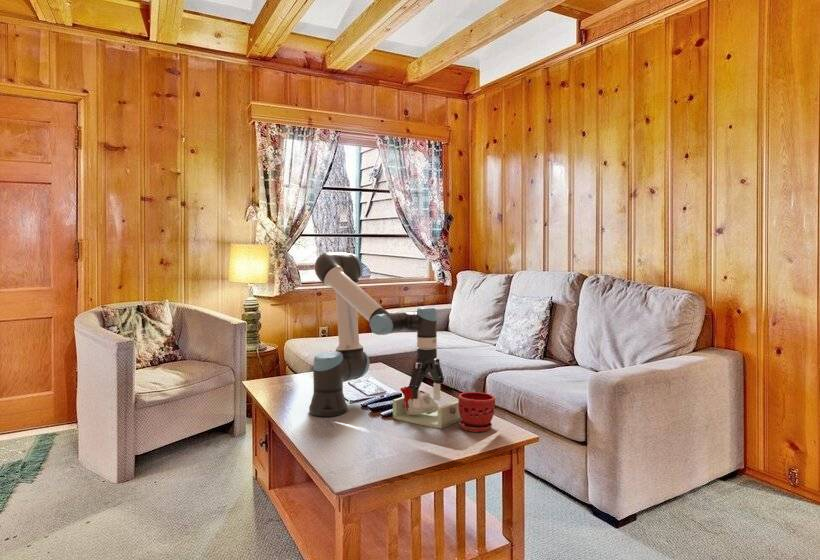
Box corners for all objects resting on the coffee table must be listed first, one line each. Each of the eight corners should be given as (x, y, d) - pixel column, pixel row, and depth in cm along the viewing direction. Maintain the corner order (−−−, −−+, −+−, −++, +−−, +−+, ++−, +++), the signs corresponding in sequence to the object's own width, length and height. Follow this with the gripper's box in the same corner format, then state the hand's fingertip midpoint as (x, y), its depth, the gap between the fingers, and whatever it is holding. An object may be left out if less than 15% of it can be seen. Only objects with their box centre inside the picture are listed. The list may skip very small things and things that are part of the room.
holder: (390, 418, 196) (390, 399, 196) (411, 410, 207) (411, 392, 207) (444, 429, 182) (444, 409, 181) (464, 420, 193) (464, 401, 193)
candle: (438, 412, 190) (413, 380, 190) (415, 429, 192) (390, 397, 193) (441, 404, 199) (417, 374, 199) (419, 420, 201) (395, 390, 202)
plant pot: (471, 436, 174) (471, 401, 174) (451, 426, 186) (451, 393, 185) (502, 430, 180) (502, 397, 180) (480, 421, 192) (480, 389, 192)
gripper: (415, 352, 182) (415, 412, 182) (452, 345, 202) (452, 398, 202) (399, 351, 186) (399, 408, 187) (436, 343, 207) (436, 395, 207)
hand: (427, 403), depth 194 cm, fingers open, 13 cm apart
